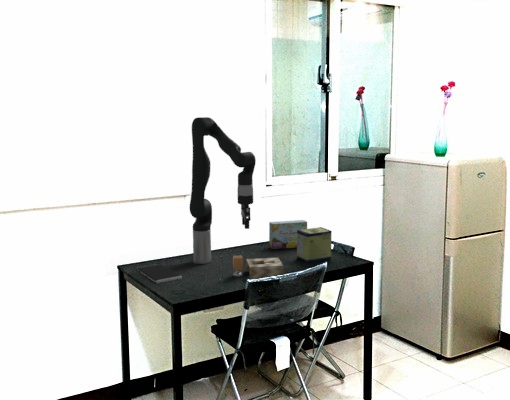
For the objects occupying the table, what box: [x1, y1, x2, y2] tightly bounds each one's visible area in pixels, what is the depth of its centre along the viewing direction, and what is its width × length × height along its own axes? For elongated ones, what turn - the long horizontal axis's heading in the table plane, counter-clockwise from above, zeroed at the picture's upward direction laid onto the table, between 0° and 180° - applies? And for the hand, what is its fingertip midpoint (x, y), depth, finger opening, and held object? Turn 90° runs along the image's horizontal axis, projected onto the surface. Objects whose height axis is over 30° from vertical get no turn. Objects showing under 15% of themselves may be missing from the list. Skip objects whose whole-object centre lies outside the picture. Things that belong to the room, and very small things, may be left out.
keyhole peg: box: [232, 254, 244, 278], centre depth 283 cm, size 4×4×9 cm
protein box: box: [296, 226, 333, 264], centre depth 310 cm, size 10×16×16 cm
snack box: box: [268, 219, 308, 250], centre depth 335 cm, size 21×6×15 cm, turn 105°
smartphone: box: [136, 263, 183, 284], centre depth 288 cm, size 13×27×2 cm, turn 32°
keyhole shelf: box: [245, 257, 284, 280], centre depth 285 cm, size 16×14×6 cm
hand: (245, 226), depth 284 cm, fingers open, 8 cm apart
